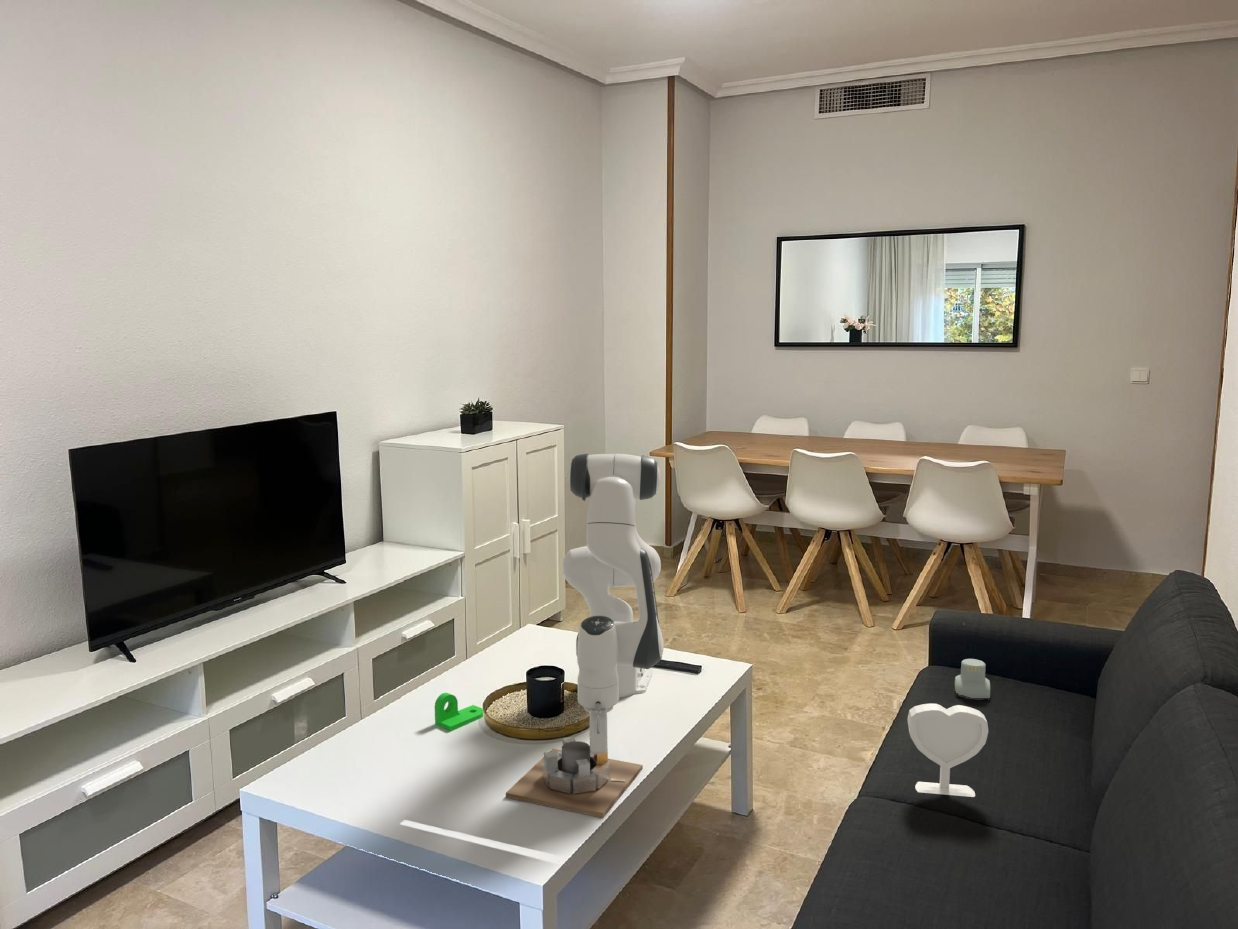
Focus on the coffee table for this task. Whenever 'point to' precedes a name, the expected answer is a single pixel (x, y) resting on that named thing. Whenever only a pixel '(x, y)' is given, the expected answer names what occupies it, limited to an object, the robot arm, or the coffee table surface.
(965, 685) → the air freshener
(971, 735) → the heart sculpture
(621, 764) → the base plate
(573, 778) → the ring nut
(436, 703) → the mechanical part
